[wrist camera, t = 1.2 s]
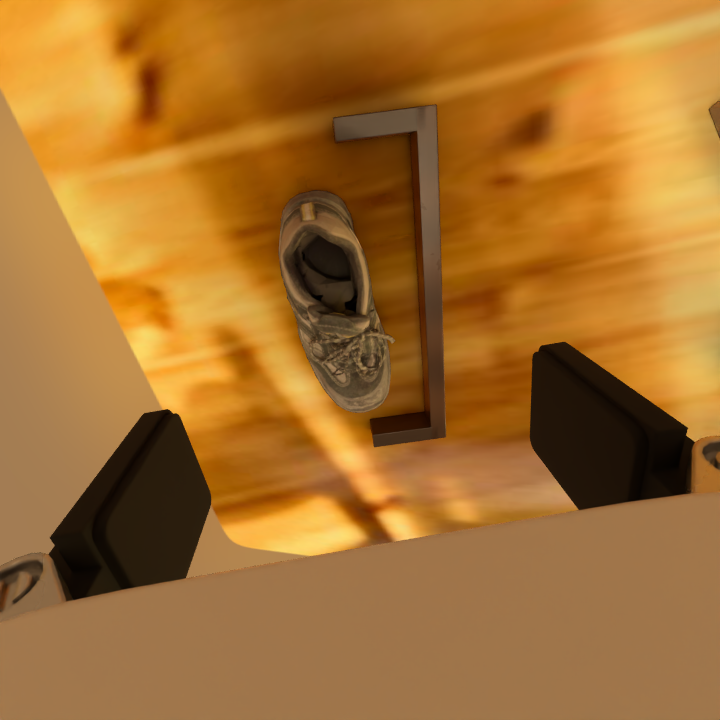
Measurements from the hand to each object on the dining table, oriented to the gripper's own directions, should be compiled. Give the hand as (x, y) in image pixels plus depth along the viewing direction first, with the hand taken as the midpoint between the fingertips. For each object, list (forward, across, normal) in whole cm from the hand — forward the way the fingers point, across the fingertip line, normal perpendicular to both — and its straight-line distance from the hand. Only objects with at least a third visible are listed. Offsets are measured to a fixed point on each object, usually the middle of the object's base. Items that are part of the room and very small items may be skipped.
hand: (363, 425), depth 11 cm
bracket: (+29, -5, +6) cm, 30 cm away
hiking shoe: (+30, +1, +6) cm, 30 cm away
